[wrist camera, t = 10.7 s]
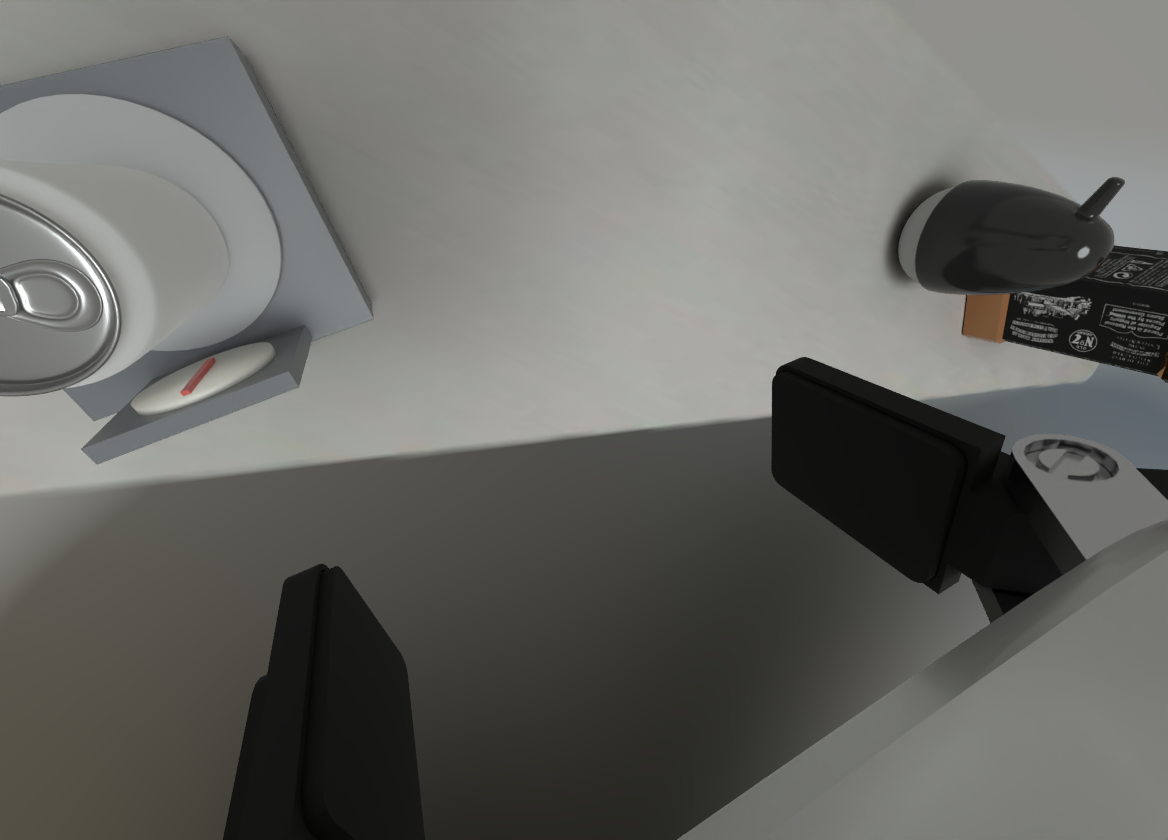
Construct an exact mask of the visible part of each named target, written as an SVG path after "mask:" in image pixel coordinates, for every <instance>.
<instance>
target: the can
mask: <svg viewBox="0 0 1168 840" xmlns="http://www.w3.org/2000/svg"><path fill="white" fill-rule="evenodd" d="M228 269H229V257H228V251H227V247H226V244H225V241H224V238H223V236H222V234H221V232H220V230H219V228H218V226H217V224H216V222H215V221H214V219H213V218H212V217H211V215H210V214H209V213H208V212H207V210H206V209H205V208H204V207H203V206H202V205H201V204H200V203H199V202H198V201H197V200H196V199H194V198H193V197H192V196H191V195H189V194H188V193H187V192H185V191H184V190H182V189H181V188H179V187H178V186H176V185H174V184H173V183H171V182H169V181H167V180H165V179H163V178H160V177H158V176H156V175H153V174H150V173H147V172H144V171H140V170H136V169H131V168H125V167H117V166H105V165H88V164H70V163H51V162H30V161H8V160H0V396H29V395H38V394H44V393H49V392H53V391H57V390H61V389H64V388H72V387H78V386H83V385H87V384H91V383H94V382H98V381H100V380H103V379H106V378H108V377H110V376H112V375H114V374H116V373H118V372H120V371H122V370H124V369H125V368H127V367H128V366H130V365H131V364H133V363H134V362H136V361H137V360H138V359H140V358H141V357H142V356H143V355H145V354H146V353H147V352H149V351H150V350H151V349H152V348H154V347H155V346H156V345H157V344H158V343H160V342H161V341H162V340H163V339H165V338H166V337H167V336H168V335H170V334H171V333H172V332H173V331H174V330H176V329H177V328H178V327H179V326H181V325H182V324H183V323H184V322H185V321H187V320H188V319H189V318H190V317H191V316H193V315H194V314H195V313H196V312H197V311H199V310H200V309H201V308H202V307H203V306H204V305H206V304H207V303H208V302H209V301H210V300H211V299H212V298H213V297H214V296H215V295H216V294H217V293H218V291H219V290H220V289H221V287H222V285H223V283H224V281H225V279H226V276H227V273H228Z"/></svg>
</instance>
